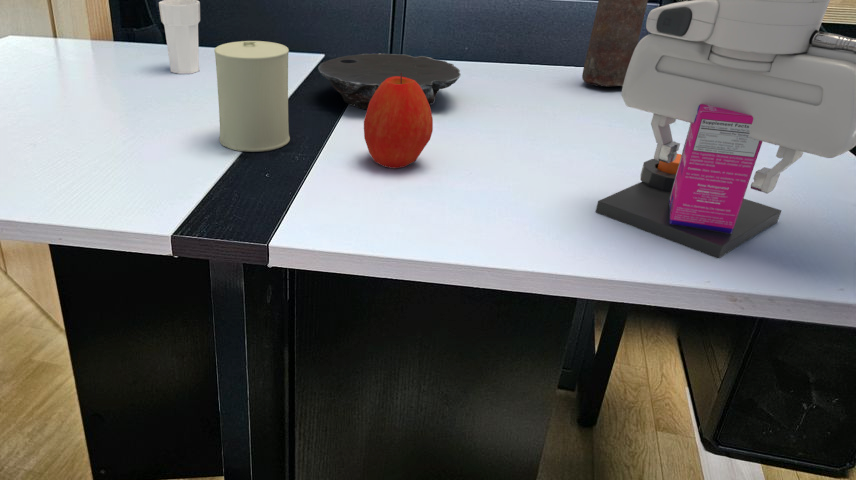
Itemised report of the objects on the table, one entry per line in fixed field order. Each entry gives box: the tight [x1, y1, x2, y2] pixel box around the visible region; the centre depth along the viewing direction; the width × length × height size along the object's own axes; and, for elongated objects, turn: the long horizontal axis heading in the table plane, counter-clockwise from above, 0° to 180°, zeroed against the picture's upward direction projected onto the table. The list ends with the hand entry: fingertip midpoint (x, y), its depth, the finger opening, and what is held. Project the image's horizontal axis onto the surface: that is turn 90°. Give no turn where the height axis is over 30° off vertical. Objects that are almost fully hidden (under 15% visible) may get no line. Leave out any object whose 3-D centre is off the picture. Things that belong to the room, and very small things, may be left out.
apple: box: [363, 73, 434, 169], centre depth 84 cm, size 8×8×11 cm
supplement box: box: [669, 104, 763, 234], centre depth 68 cm, size 6×6×12 cm
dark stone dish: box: [317, 52, 462, 110], centre depth 108 cm, size 22×22×5 cm
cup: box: [158, 0, 201, 75], centre depth 120 cm, size 7×7×11 cm
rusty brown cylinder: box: [581, 0, 649, 88], centre depth 112 cm, size 8×7×20 cm
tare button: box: [657, 153, 682, 174], centre depth 78 cm, size 3×3×2 cm
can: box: [213, 40, 291, 153], centre depth 90 cm, size 9×9×12 cm
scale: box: [595, 158, 782, 259], centre depth 74 cm, size 14×14×3 cm
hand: (710, 174), depth 68 cm, fingers open, 8 cm apart
